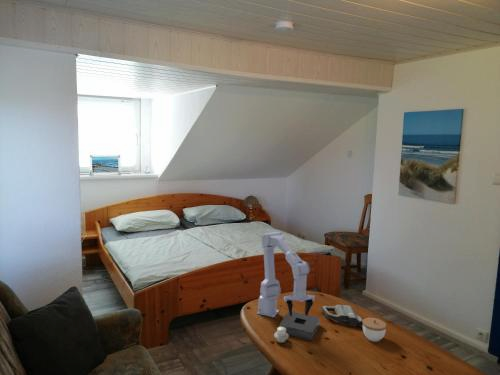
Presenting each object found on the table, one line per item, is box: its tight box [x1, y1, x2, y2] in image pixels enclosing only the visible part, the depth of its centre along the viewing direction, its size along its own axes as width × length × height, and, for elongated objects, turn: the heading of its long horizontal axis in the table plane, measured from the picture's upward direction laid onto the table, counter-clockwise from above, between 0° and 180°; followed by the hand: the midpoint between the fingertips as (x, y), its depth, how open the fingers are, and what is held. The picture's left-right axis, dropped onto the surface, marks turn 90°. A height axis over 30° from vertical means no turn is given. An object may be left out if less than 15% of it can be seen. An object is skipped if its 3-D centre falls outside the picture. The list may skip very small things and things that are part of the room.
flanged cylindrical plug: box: [273, 327, 290, 344], centre depth 174 cm, size 7×7×6 cm
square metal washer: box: [278, 311, 320, 341], centre depth 185 cm, size 16×16×4 cm
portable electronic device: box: [321, 304, 364, 328], centre depth 196 cm, size 16×20×5 cm
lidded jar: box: [362, 317, 387, 343], centre depth 179 cm, size 11×11×9 cm
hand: (298, 314), depth 179 cm, fingers open, 7 cm apart
